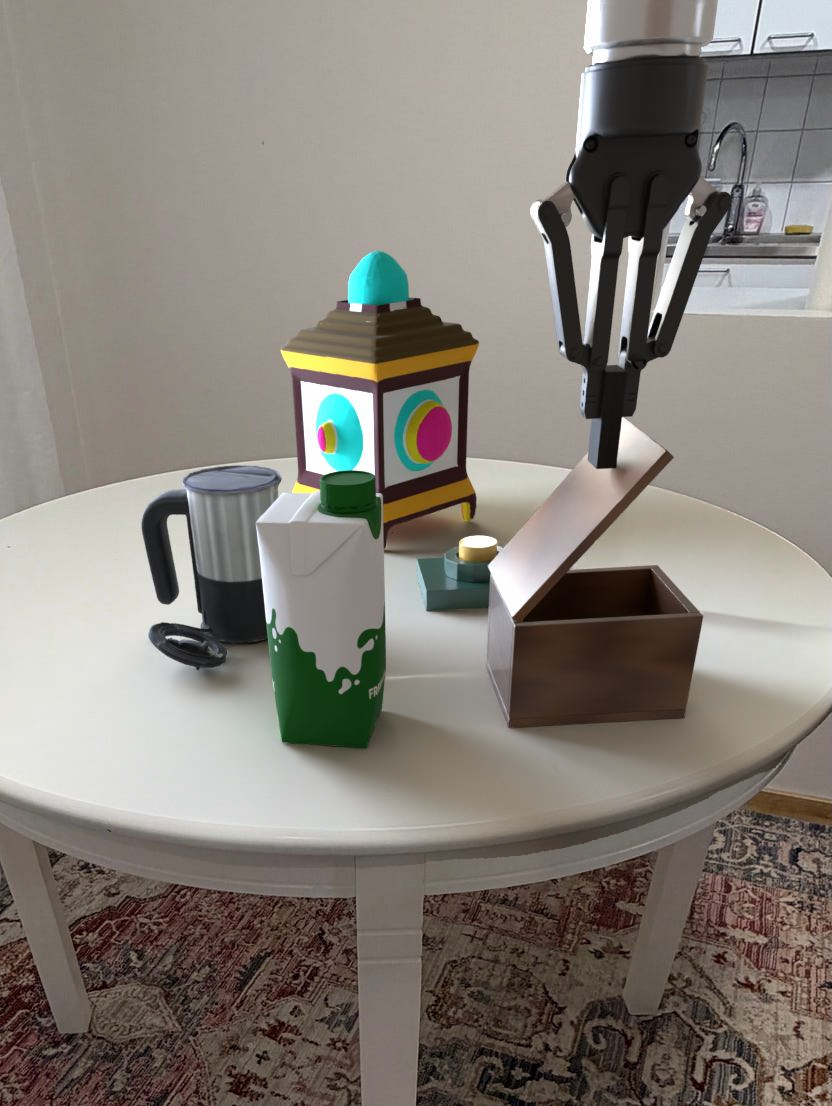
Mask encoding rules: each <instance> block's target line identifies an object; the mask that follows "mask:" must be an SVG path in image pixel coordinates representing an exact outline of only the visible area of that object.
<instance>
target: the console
mask: <svg viewBox="0 0 832 1106" xmlns="http://www.w3.org/2000/svg"><path fill="white" fill-rule="evenodd" d="M503 548H504V547H502V546H500V545H497V555H498V554H499V553H500V551H501V550H502V549H503ZM443 555H444V556H441V557H440V556H439V557H438V556H437V557H421V558H416V580H417V583H418V588H419V591H420V594H421V598H422V601H423V605H424V608H425V611H426V612H434V611H435V612H437V611H450V610H451V611H454V610H471V609H489V592H490V574H491V572H490V570H489V568H488V565H489V564H490V563H491V562H492V560H491V561H487V562H471V561H464V560H462V559H459V545H457V546H454V547H451V548H449V549H448V550H447V551H446V552H444V554H443Z"/></svg>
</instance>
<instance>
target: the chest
mask: <svg viewBox="0 0 832 1106" xmlns="http://www.w3.org/2000/svg"><path fill="white" fill-rule="evenodd" d="M487 615H488V617H487V636H486V659H485V669H486V672H487V674H488V677H489V680H490V682H491V685H492V687H493V690H494V692H495V693H494V694H495V695H496V698H497V701H498V703H499V706H500V708H501V712H502V714H503V716H504V720H505V722H506V724H507V727H508V728H509V729H510V728H528V727H530V728H531V727H546V726H563V725H581V724H583V725H584V724H598V723H599V724H600V723H614V722H615V723H616V722H633V721H650V720H651V721H652V720H668V719H684V718H685V717H686V713H687V706H688V701H689V696H690V691H691V684H692V681H693V675H694V669H695V664H696V658H697V652H698V648H699V644H700V643H699V642H700V637H701V632H702V626H703V621H704V615H703V614H702V613H701V611H700V610H699V609H698V608H697V607H696V606H695V605H694V604H693V602H691V600H690V599H689V598H688V597H687V596H686V594H684V593H683V591H682V590H681V589H680V588H679V587H678V586H677V585H676V584H675V583H674V581H673V580H671V578H670V577H669V576H668V575H667V574H666V572H664V570H663V569H662V568H661V567H660V566H659V565H658V564H649V565H635V566H634V565H632V566H630V565H629V566H614V567H613V566H612V567H596V568H578V569H577V568H576V569H569V570H568V572H567V573H566V574H565V575H564V576H563V577H562V578H561V579H560V580H559V581H558V582H557V583H556V584H555V585H554V587H553V588H552V589H551V590H550V591H549V592H548V593H547V594H546V595H545V596H544V597H543V598H542V599H541V601H540V602H539V603H538V604H537V605H536V606H535V607H534V608H533V609H532V610H531V611H530V612H529V613H528V614H527V616H526V617H525V618H524V619H523V620H522V621H521V622H520V623H518V622H516V621H515V620H514V619H513V618H512V616H511V614H510V612H509V610H508V608H507V606H506V604H505V602H504V600H503V597H502V595H501V593H500V591H499V589H498V587H497V585H496V583H495V581H494V579H493V576H492V574H490V592H489V608H488V613H487Z"/></svg>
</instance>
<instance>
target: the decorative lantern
mask: <svg viewBox="0 0 832 1106" xmlns="http://www.w3.org/2000/svg"><path fill="white" fill-rule="evenodd" d="M409 287H410V286H409V278H408V275H407V272H406V271H405V269H403V267H402V266H401V265H400V263H399V262H398V260H396V259H395V258H394V257H393V256H392V255H390V254H389V253H387V252H386V251H381V250H375V251H372V252H369V253H368V254H367V255H365V256H364V257H362V259H361V260H360V261H359V262H358V264H357V265H356V266H355V268H354V269H353V270H352V272H351V273H350V275H349V279H348V284H347V288H348V289H347V299H345V300H338V301H336V307H335V309H332V310H329V311H328V312H327V314H326V315H325V318H322V319H320V320H318V321H317V323H316V325H315V326H311V327H306V328H300V329H299V330H297V331H296V335H295V336H292V337H290V338H289V339H287V342H286V344H285V345H284V346H282V347H281V348H280V353H281V355H282V358H283V360H284V362H285V364H286V365H287V367H288V370H289V372H290V376H291V386H292V400H293V403H292V404H293V415H294V432H295V445H296V447H295V448H296V459H297V477H296V482H295V484H294V487H293V489H292V491H291V493H314V492H315V491H320V478H321V477H322V476H323V475H325V474H328V473H331V472H336V471H345V470H359V471H366V472H370V473H372V474H374V475H375V478H376V493H379V494H382V495H383V541H384V551H385V550H386V547H387V542H388V541H387V540H388V534H389V531H390V530H391V528H393V527H394V526H397V525H400V524H403V523H407V522H409V521H412V520H416V519H418V518H421V517H424V516H428V515H430V514H433V513H436V512H440V511H443V510H445V509H449V508H452V507H455V506H458V505H460V504H461V515H462V519H463V520H464V521H465V522H471V521H473V519H475V516H476V513H477V512H476V511H477V493H476V490H475V488H474V486H473V484H472V482H471V479H470V477H469V475H468V471H467V454H468V453H467V451H468V449H467V448H468V419H469V417H468V416H469V385H470V369H471V365H472V362H473V360H474V357H475V356H476V354H477V351H478V349H479V346H480V341H479V340H478V339H476V338H474V337H473V334H472V332H470V331H468V330H464V328H463V326H462V324H460V323H459V322H458V323H457V322H448V321H443V320H442V317H441V316H440V315H436V314H434V313H432V310H431V309H430V307H427V306H425V305H422V301H421V300H422V299H421V298H419V297H410V288H409Z"/></svg>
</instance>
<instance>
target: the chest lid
mask: <svg viewBox="0 0 832 1106" xmlns="http://www.w3.org/2000/svg"><path fill="white" fill-rule="evenodd" d="M587 459H588V452H586V454H585V455H584V456H583V457H582V459H580V461H579V462H578V463H577V464H576V465H575V467H574V468H573V469H571V471H570V472H569V473H568V474H567V475H566V477H565V478H564V479H563V480H562V481H561V482H560V483H559V485H557V487H555V489H554V490H553V491H552V492H551V493H550V494H549V496H548V497H547V498H546V499H545V500H544V501H543V502H542V504H541V505H540V506H539V507H538V508H537V509H536V511H534V513H533V514H532V515H531V516H530V517H529V518H528V519H527V521H526V522H525V523H523V525H522V526H521V527H520V529H519V530H518V531H517V532H516V533H515V534H514V536H512V537H511V539H510V540H509V541H508V542H507V543H506V544H505V546H504V547H502V548H503V549H502V550H501V551H500V553H499V554H498V555H497V556H496V557H495V558H494V559H493V560H492V562H491V563H490V564H489V565H488V568H489V570H490V572H491V574H492V576H493V579H494V581H495V583H496V585H497V587H498V589H499V591H500V593H501V595H502V597H503V600H504V602H505V604H506V606H507V608H508V610H509V612H510V614H511V616H512V618H513V619H514V620H515V621H516V622H518V623H520V622H521V621H522V620H523V619H524V618H525V617H526V616H527V614H528V613H529V612H530V611H531V610H532V609H533V608H534V607H535V606H536V605H537V604H538V603H539V602H540V601H541V599H542V598H543V597H544V596H545V595H546V594H547V593H548V592H549V591H550V590H551V589H552V588H553V587H554V585H555V584H556V583H557V582H558V581H559V580H560V579H561V578H562V577H563V576H564V575H565V574H566V573H567V572H568V570H571V569H572V568H573V566H574V565H575V564H576V563H577V562H578V561H579V560H580V559H581V558H582V557H583V556H584V555H585V553H586V552H587V551H589V549H591V547H592V546H594V544H595V543H596V542H597V541H598V540H599V538H600V537H601V536H603V535H604V533H605V532H606V531H607V530H608V529H609V528H610V527H611V526H612V525H613V524H614V522H615V521H616V520H618V518H619V517H620V516H621V515H622V514H623V513H624V512H625V511H626V510H627V508H629V506H631V504H632V503H633V502H634V501H635V500H636V499H637V498H638V497H639V496H640V495H641V493H642V492H644V490H645V489H646V488H647V487H648V486H649V485H650V484H651V483H652V482H653V481H654V480H655V479H656V477H657V476H658V475H659V474H660V473H661V472H662V471H663V470H664V469H665V468H666V467H667V465H669V464H670V463H671V461H672V460H673V459H674V455H673V454H672V453H671V452H670V451H669V450H668V449H667V448H665V447H664V446H662V445H661V444H660V443H659V442H657V441H656V440H655V439H653V438H652V437H651V436H649V435H648V434H647V433H645V431H643V430H641V428H639V427H637V426H636V425H635V424H634V423H632V422H631V421H630V419H629V420H628V419H627V417H622V422H621V431H620V439H619V448H618V456H617V465H616V468H609V469H596V468H595V467H594V466H593V465H592V464H591V463H590V462H589V461H588V460H587Z"/></svg>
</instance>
